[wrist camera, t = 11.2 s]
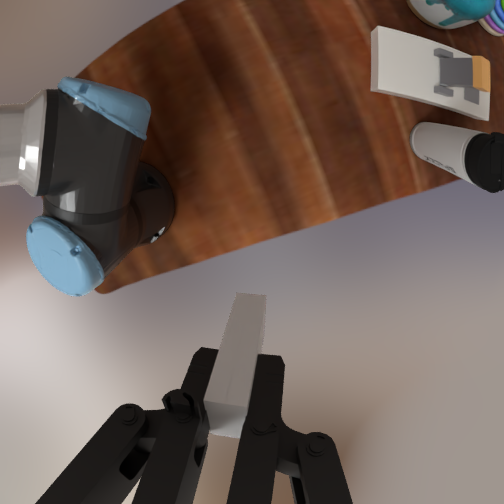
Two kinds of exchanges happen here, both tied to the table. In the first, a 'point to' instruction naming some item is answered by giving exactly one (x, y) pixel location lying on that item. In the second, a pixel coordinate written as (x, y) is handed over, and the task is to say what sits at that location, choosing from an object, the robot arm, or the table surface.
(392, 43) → the switch box
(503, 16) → the stacking toy
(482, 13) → the vase
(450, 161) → the travel mug
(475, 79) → the lever
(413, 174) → the table surface
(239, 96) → the table surface
